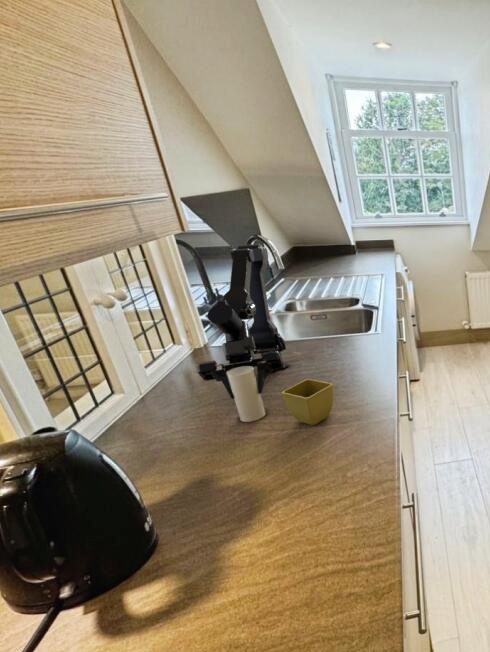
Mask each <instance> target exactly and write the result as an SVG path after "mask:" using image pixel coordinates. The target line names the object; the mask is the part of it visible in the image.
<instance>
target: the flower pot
mask: <svg viewBox="0 0 490 652" xmlns="http://www.w3.org/2000/svg"><path fill="white" fill-rule="evenodd" d="M281 396H282V398H283V400H284V403H285V405H286V407H287V410H288V412H289V413H290V415H292V417H294V419H295V420H297V421H298V422H300V423H302V424H303V423H304V424H306V425H310V426H315V425H317V424H319V423H320V422H322V421H323V420H324V419H326V418H328V417H329V415H330V414H331V412H332V409H333V406H334V384H333V383H330V382H326V381H322V380H317V379H313V378H312V379H311V378H306V379H304V380H302V381H300V382H298V383H296V384H294V385H292V386H291V387H288V388H287V389H284V390H283V391H281Z"/></svg>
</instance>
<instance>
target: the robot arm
mask: <svg viewBox="0 0 490 652" xmlns="http://www.w3.org/2000/svg"><path fill="white" fill-rule="evenodd" d="M230 256H231V260H232V261H231V262H232V263H231V272H230V282H229V283H230V284H229V290H227V292H225V294H224V295H223V296H222V300H217V301H216V305H214V306H212V307H211V308H210V309H209V310H208V312H207V319H208V321H209V322H210V323H211V324H212V325H213V326H214V328H216V329H217V330H218V331H219V332H220V333H222V334H224V337H225V342H223V343H222V344H221V345H222V350H223V354H224V357H225V360H226V362H228V363H217V361H216V360H210V361H202V362H199V363H198V365H197V367H196V369H197V374H198V375H199V376H200V378H202V380H203V381H207V382H209V381H214V380H215V381H216V382H218V383H219V382H221V383H222V385H223V386H224V388H225V390H226V392H227V393H228V396H229V397H230V398H231V400H234V397H233V393H232V390H231V386H230V383H229V380H228V376H227V372H228V371H229V370H231V369H234V368H237V367H241V366H252V367H253V368H256V370H257V383H258V390H259V393H260V394H261V395H262V392H263V389H264V386H265V383H266V380H267V378H268V376H269V374H273V373H276V372H278V371H280V370H284V369H286V368H288V367H289V364H286V363H284V361H283V357H282V354H281V353H282V352H283V351H285V350H287V346H286V342H285V339H284V337H283V336H282V335H281V334H280V333H279V330H278V327H277V326H276V325H275V324H274V322H273V321H272V320H271V315H270V310H269V303H268V296H267V295H268V294H267V290H266V284H265V283H266V282H265V275H264V274H265V271H266V269H267V267H268V265H269V264H268V259H269V252H268V249H267V247H265V246H264V247H263V245H262V243H253V244H251V243H249V244H239V245H238V246H237V248H234V249H231V252H230ZM251 319H253V322H252V325H251V326H250V327H249V324H248V323H247V322H246V321H244V320H251ZM257 354H258V355H259V354H260V356H261V357H260V358H259V357H258V358H254V355H257Z"/></svg>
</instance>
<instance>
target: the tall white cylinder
mask: <svg viewBox="0 0 490 652" xmlns="http://www.w3.org/2000/svg"><path fill="white" fill-rule="evenodd" d="M226 374H227V376H228V380H229V383H230V386H231V390H232V393H233V397H234V399H233V400H234V404H235V407H236V411H237V414H238V418H239V420H240V421H241V422H244V423H251V422H255V421H258V420H260V419H262V418H264V417H265V416H266V409H265V405H264V402H263V398H262V393H261V394H260V393H259V390H258V378H257V376H256V372H255V367H252V366H241V367H237V368H234V369H231V370H229V371H227V373H226Z"/></svg>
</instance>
